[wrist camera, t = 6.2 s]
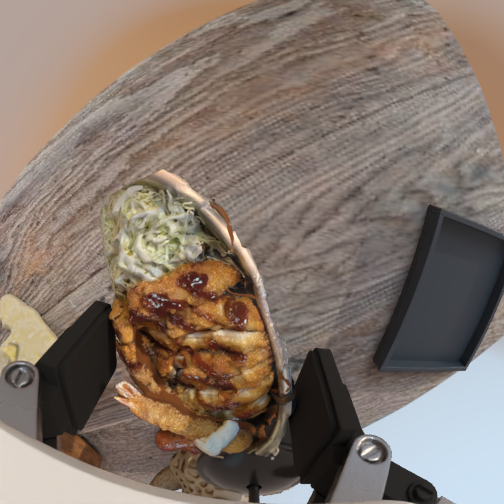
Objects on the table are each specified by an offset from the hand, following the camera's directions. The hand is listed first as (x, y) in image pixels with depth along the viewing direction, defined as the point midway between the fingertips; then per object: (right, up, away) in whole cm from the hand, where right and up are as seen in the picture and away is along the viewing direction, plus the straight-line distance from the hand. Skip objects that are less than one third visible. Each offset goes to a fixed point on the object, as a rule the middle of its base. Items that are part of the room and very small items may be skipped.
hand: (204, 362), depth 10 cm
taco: (-1, +1, +1) cm, 2 cm away
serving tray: (+23, -1, +16) cm, 29 cm away
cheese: (-20, -5, +18) cm, 28 cm away
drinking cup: (+2, -6, +18) cm, 20 cm away
